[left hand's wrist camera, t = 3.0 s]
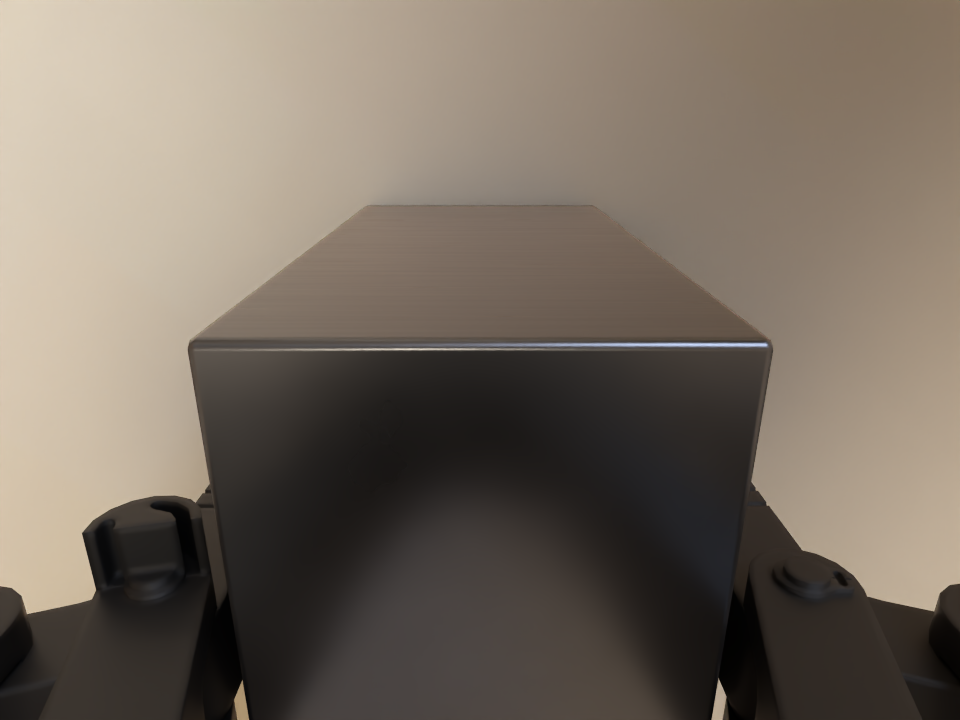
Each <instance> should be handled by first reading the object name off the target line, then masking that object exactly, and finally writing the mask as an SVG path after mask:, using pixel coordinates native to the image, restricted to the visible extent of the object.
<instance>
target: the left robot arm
mask: <svg viewBox="0 0 960 720" xmlns="http://www.w3.org/2000/svg"><path fill="white" fill-rule="evenodd" d="M82 535H83V539H84V543H85V547H86V551H87V555H88V559H89V563H90V567H91V571H92V575H93V579H94V583H95V586H96V592H95V594H94V597H93V599H92V600H89V601H86V602H82V603H78V604H74V605H69V606H65V607H60V608H55V609H50V610H46V611H41V612H36V613H31V614H27V613H26V610H25V606H24V603H23V600H22V596H21V595H19V594H18V593H17V592H16V591H14V590H13V589H12V588H7V587H0V720H237V715H236V709H235V703H234V698H235V696H236V694H237V691H238V689H239V686H240V684H241V682H242V673H241V667H240V661H239V655H238V649H237V643H236V637H235V631H234V625H233V619H232V613H231V607H230V601H229V595H228V589H227V583H226V577H225V571H224V565H223V559H222V553H221V547H220V541H219V535H218V529H217V523H216V517H215V511H214V505H213V499H212V492H211V486H210V484H209V486H208V487H207V488H206V490H205V493H203V494H202V495H201V497H200V498H199V499H198V501H197V502H196V503H195V502H193V501H192V500H191V499H187V498H182V497H178V496H153V497H149V498H144V499H139V500H134V501H131V502H128V503H126V504H123V505H121V506H118V507H116V508H113V509H111V510H109V511H107V512H106V513H104V514H103V515H101V516H100V517H98V518H96V519H95V520H93V521H92V522H91V524H90V525H89V526H88V527H87V528H86V529H85V530H84V532H83V533H82ZM719 680H720V682H721V685H722V687H723V689H724V692H725V694H726V696H727V698H726V703H725V709H724V715H723V720H960V584H956V585H950V586H948V587H947V588H946V589H945V590H943V591H942V592H941V593H940V595H939V598H938V602H937V605H936V608H935V611H934V612H933V611H928V610H924V609H919V608H914V607H909V606H905V605H900V604H895V603H890V602H885V601H881V600H878V599H874V598H871V597H867V595H866V593H865V591H864V589H863V588H862V586H861V585H860V584H859V582H858V581H857V580H856V578H855V577H854V576H853V575H852V574H851V573H849V572H848V571H847V570H845V569H844V568H843V567H841V566H840V565H838V564H837V563H835V562H833V561H831V560H828V559H826V558H824V557H822V556H820V555H817V554H814V553H810V552H806V551H802V550H801V548H800V547H799V546H798V544H797V543H796V542H795V540H794V539H793V538H792V536H791V535H790V533H789V532H788V531H787V529H786V528H785V527H784V525H783V524H782V523H781V521H780V520H779V519H778V517H777V516H776V515H775V513H774V512H773V511H772V509H771V508H770V507H769V506H766V501H765V500H764V499H763V497H762V496H761V495H760V493H759V492H758V491H756V490H755V487H754V485H753V484H752V483H751V485H750V491H749V497H748V503H747V509H746V515H745V521H744V527H743V533H742V539H741V545H740V551H739V557H738V563H737V569H736V575H735V581H734V587H733V593H732V599H731V605H730V611H729V617H728V623H727V629H726V635H725V641H724V647H723V653H722V659H721V665H720V671H719Z"/></svg>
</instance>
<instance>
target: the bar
mask: <svg viewBox="0 0 960 720" xmlns="http://www.w3.org/2000/svg"><path fill="white" fill-rule="evenodd" d="M772 353H773V346H772V343H771V340H770V339H768V338H767V337H766V336H765V335H763V334H762V333H761V332H759V331H758V330H757V329H755V328H754V327H753V326H751V325H750V324H749V323H747V322H746V321H745V320H744V319H742V318H741V317H740V316H738V315H737V314H736V313H734V312H733V311H732V310H730V309H729V308H728V307H726V306H725V305H724V304H722V303H721V302H720V301H719V300H717V299H716V298H715V297H713V296H712V295H711V294H709V293H708V292H707V291H705V290H704V289H703V288H701V287H700V286H699V285H697V284H696V283H695V282H694V281H692V280H691V279H690V278H688V277H687V276H686V275H684V274H683V273H682V272H680V271H679V270H678V269H676V268H675V267H674V266H672V265H671V264H670V263H669V262H667V261H666V260H665V259H663V258H662V257H661V256H659V255H658V254H657V253H655V252H654V251H653V250H651V249H650V248H649V247H647V246H646V245H645V244H644V243H642V242H641V241H640V240H638V239H637V238H636V237H634V236H633V235H632V234H630V233H629V232H628V231H626V230H625V229H624V228H622V227H621V226H620V225H619V224H617V223H616V222H615V221H613V220H612V219H611V218H609V217H608V216H607V215H605V214H604V213H603V212H601V211H600V210H599V209H597V208H596V207H594V206H366V207H364V208H363V209H361V210H360V211H359V212H358V213H356V214H355V215H354V216H352V217H351V218H350V219H348V220H347V221H346V222H344V223H343V224H342V225H340V226H339V227H338V228H337V229H335V230H334V231H333V232H331V233H330V234H329V235H327V236H326V237H325V238H323V239H322V240H321V241H319V242H318V243H317V244H316V245H314V246H313V247H312V248H310V249H309V250H308V251H306V252H305V253H304V254H302V255H301V256H300V257H299V258H297V259H296V260H295V261H293V262H292V263H291V264H289V265H288V266H287V267H285V268H284V269H283V270H281V271H280V272H279V273H278V274H276V275H275V276H274V277H272V278H271V279H270V280H268V281H267V282H266V283H264V284H263V285H262V286H260V287H259V288H258V289H257V290H255V291H254V292H253V293H251V294H250V295H249V296H247V297H246V298H245V299H243V300H242V301H241V302H240V303H238V304H237V305H236V306H234V307H233V308H232V309H230V310H229V311H228V312H226V313H225V314H224V315H222V316H221V317H220V318H219V319H217V320H216V321H215V322H213V323H212V324H211V325H209V326H208V327H207V328H205V329H204V330H203V331H201V332H200V333H199V334H198V335H196V336H195V337H194V338H192V339H191V340H190V342H189V346H188V354H189V360H190V366H191V372H192V378H193V384H194V390H195V396H196V402H197V408H198V414H199V420H200V426H201V432H202V438H203V444H204V450H205V456H206V462H207V468H208V474H209V480H210V486H211V492H212V499H213V505H214V511H215V517H216V523H217V529H218V535H219V541H220V547H221V553H222V559H223V565H224V571H225V577H226V583H227V589H228V595H229V601H230V607H231V613H232V619H233V625H234V631H235V637H236V643H237V649H238V655H239V661H240V667H241V673H242V679H243V685H244V691H245V697H246V703H247V709H248V715H249V720H711V719H712V713H713V707H714V701H715V695H716V689H717V683H718V677H719V671H720V665H721V659H722V653H723V647H724V641H725V635H726V629H727V623H728V617H729V611H730V605H731V599H732V593H733V587H734V581H735V575H736V569H737V563H738V557H739V551H740V545H741V539H742V533H743V527H744V521H745V515H746V509H747V503H748V497H749V491H750V485H751V479H752V473H753V467H754V461H755V455H756V449H757V443H758V437H759V431H760V425H761V419H762V413H763V407H764V401H765V395H766V389H767V383H768V377H769V371H770V365H771V359H772Z"/></svg>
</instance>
